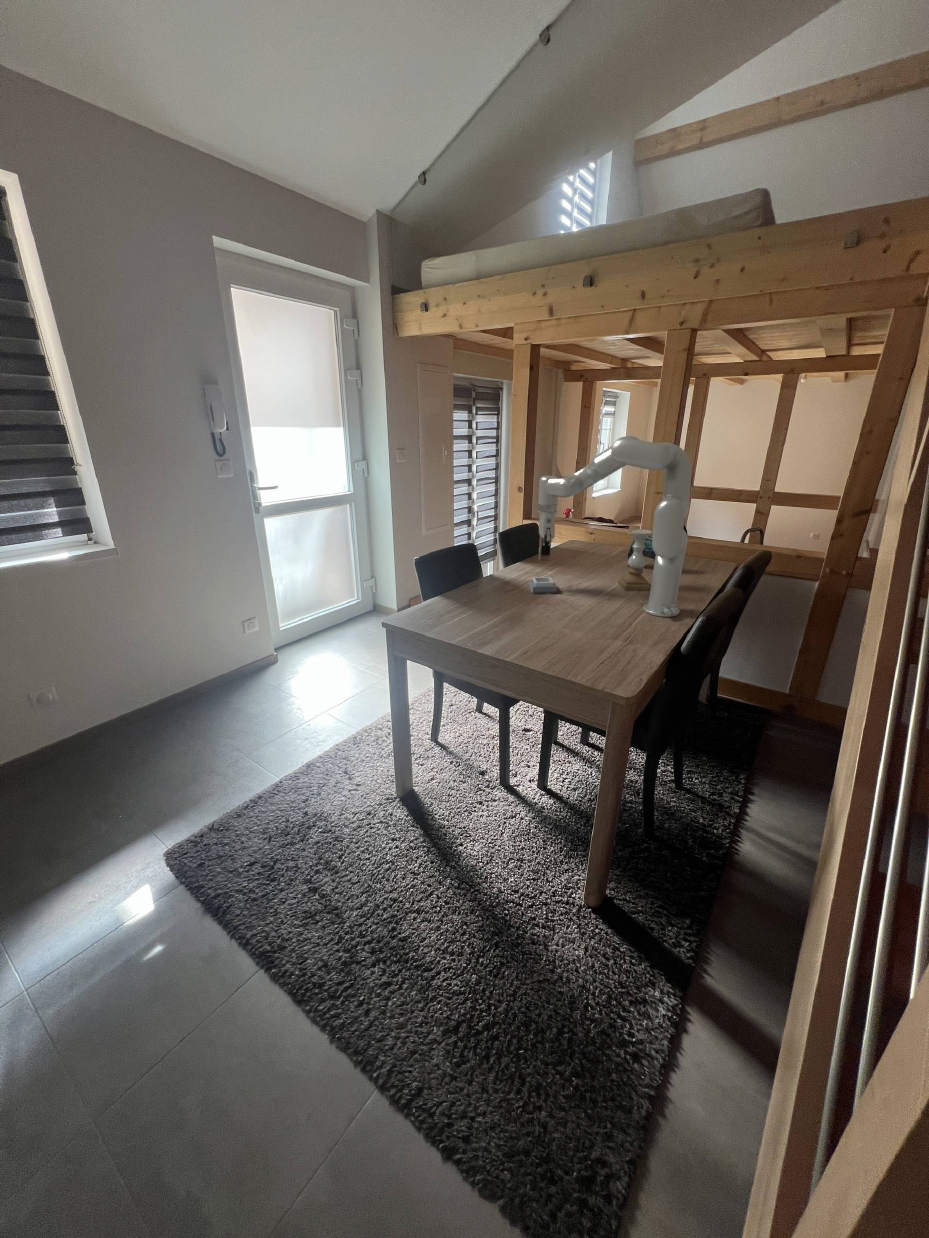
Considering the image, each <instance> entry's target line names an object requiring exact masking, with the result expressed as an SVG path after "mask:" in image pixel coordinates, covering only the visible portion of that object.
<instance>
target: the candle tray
mask: <svg viewBox="0 0 929 1238" xmlns="http://www.w3.org/2000/svg"><path fill="white" fill-rule="evenodd" d="M528 587H529V590H530V592H531V594H532V595H547V594H546V593H558V586H557V585H556V583H555V581H554V580H553V578H552V577H551V576H532V579H529V580H528Z"/></svg>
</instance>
